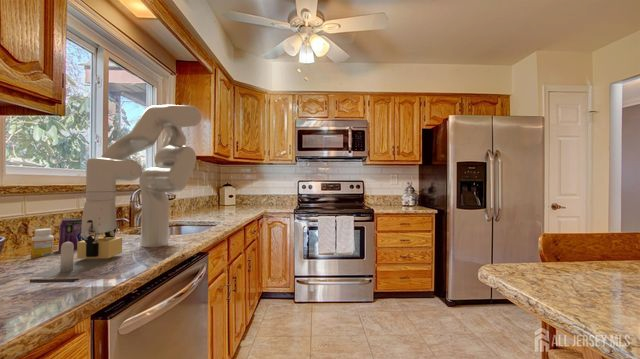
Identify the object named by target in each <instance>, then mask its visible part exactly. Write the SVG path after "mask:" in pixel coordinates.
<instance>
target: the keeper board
mask: <svg viewBox="0 0 640 359" xmlns="http://www.w3.org/2000/svg"><path fill="white" fill-rule="evenodd" d="M74 250H75V249H74V244H73V243H72V242H65V243H63V244H62V246H61V250H60V264H59V265H60V266H56V267H53V268H50V269H48V270H44V271H42V272H39V273H36V274H34V275H31V276H30V279H29V283H30V284H31V283H34V284H37V283H38V284H39V283H41V284H44V283H74V282H76V281H79V280H80V278H64V277H75V276H78V275H80V274H83V273H84V272H87V271H90V270H91V269H93V268H96V267H99V266H101V265H104V264H106V263H108V262H111V261H113V260H115V259H119V258H121V257H123V256H124V255H125V256H126V253H120V254H117V255H115V256H113V257H111V258H90V259H77V260H74V252H75V251H74ZM43 277H44V278H43ZM47 277H51V278H50V279H49V278H48V279H47ZM54 277H55V278H54ZM56 277H57V278H56ZM58 277H60V278H59V279H58ZM61 277H63V278H61ZM31 278H35V279H31ZM36 278H37V279H36ZM38 278H39V279H38ZM42 278H43V279H42Z"/></svg>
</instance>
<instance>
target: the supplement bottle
mask: <svg viewBox="0 0 640 359" xmlns="http://www.w3.org/2000/svg"><path fill="white" fill-rule="evenodd" d="M30 241H31V243H30V259H34V258H35V259H36V258H39V257H45V256H51V255H53V254H54V246H55V237H54V235H52V228H38V229H34V236H32V237H31V240H30Z"/></svg>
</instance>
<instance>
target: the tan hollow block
mask: <svg viewBox="0 0 640 359" xmlns="http://www.w3.org/2000/svg"><path fill="white" fill-rule="evenodd" d="M92 238H93V239H94V237H92ZM97 243H99V245H98V256H97V257H86V244H85V241H84V240H83V241H80V242H77V249H76V255H77V257H76V259H77V260H79V259H90V258H111V257H113V256H115V255H117V254H123V237H122V236H121V237H120V236H119V237H117V236H115V237H104V236H103V237H98V240H97Z"/></svg>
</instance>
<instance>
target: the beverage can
mask: <svg viewBox="0 0 640 359" xmlns="http://www.w3.org/2000/svg"><path fill="white" fill-rule="evenodd" d="M81 229H82V217H72V218H71V217H70V218H69V217H68V218H62V219H61V221H60V224H59V230H58V231H59V232H58V252H59V251H60V252H61V246H62V244H63V243H65V242H72V243H73V244H74V250H77V242H80V241H83V237H82V236H81V232H82V231H81Z"/></svg>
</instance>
